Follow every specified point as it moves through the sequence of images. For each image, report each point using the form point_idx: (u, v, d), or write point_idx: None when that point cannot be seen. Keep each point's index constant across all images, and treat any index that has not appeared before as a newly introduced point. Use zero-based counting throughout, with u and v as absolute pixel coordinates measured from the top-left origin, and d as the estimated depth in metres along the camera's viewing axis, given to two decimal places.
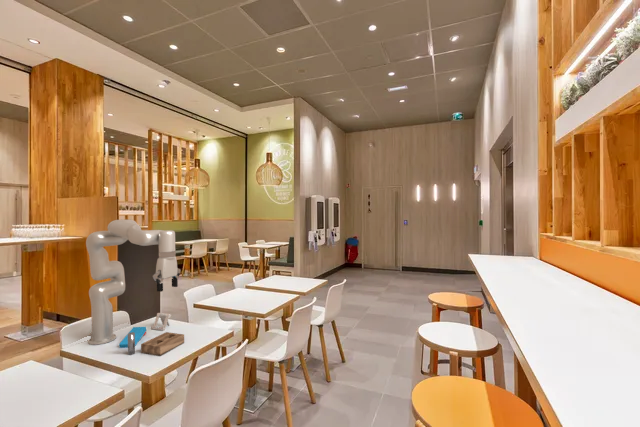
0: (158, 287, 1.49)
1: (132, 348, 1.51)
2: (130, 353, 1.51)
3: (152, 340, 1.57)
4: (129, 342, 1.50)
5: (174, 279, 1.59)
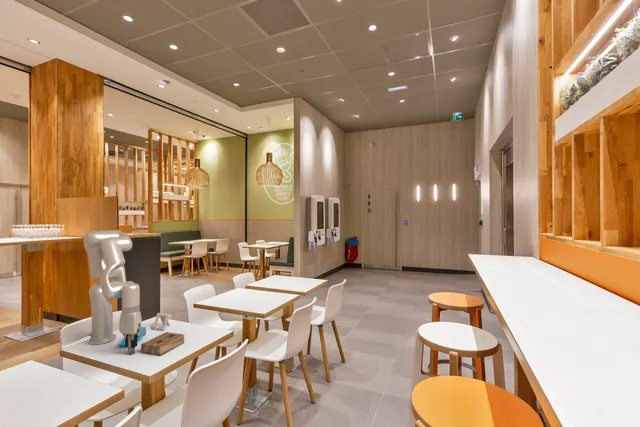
0: (135, 342, 1.51)
1: (132, 348, 1.51)
2: (130, 353, 1.51)
3: (152, 340, 1.57)
4: (129, 342, 1.50)
5: None
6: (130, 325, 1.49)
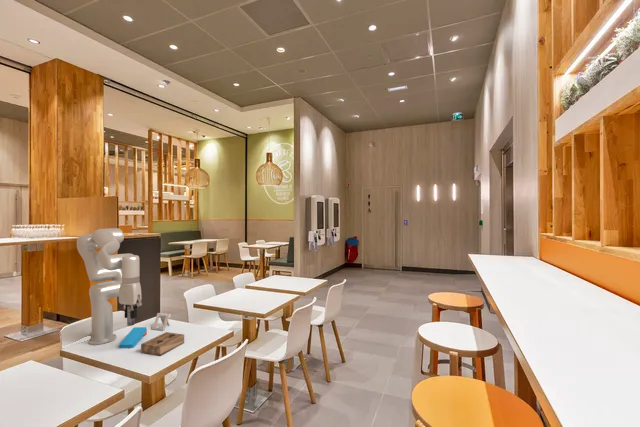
0: (135, 313, 1.51)
1: (132, 319, 1.51)
2: (129, 324, 1.51)
3: (152, 340, 1.57)
4: (128, 313, 1.51)
5: None
6: (130, 296, 1.49)
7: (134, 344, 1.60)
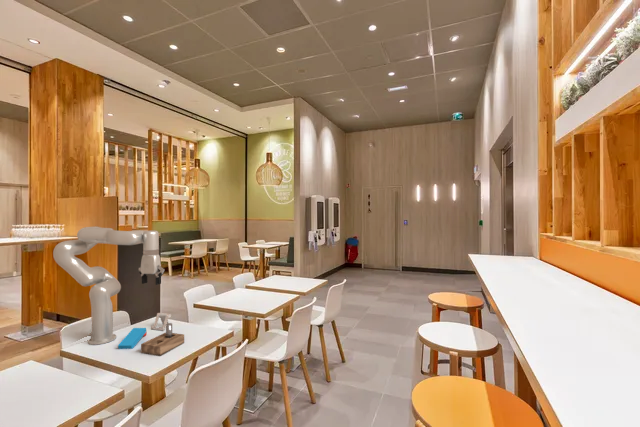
0: (159, 280, 1.69)
1: None
2: None
3: (152, 340, 1.57)
4: (167, 332, 1.61)
5: (145, 276, 1.73)
6: (151, 266, 1.68)
7: (133, 345, 1.59)
